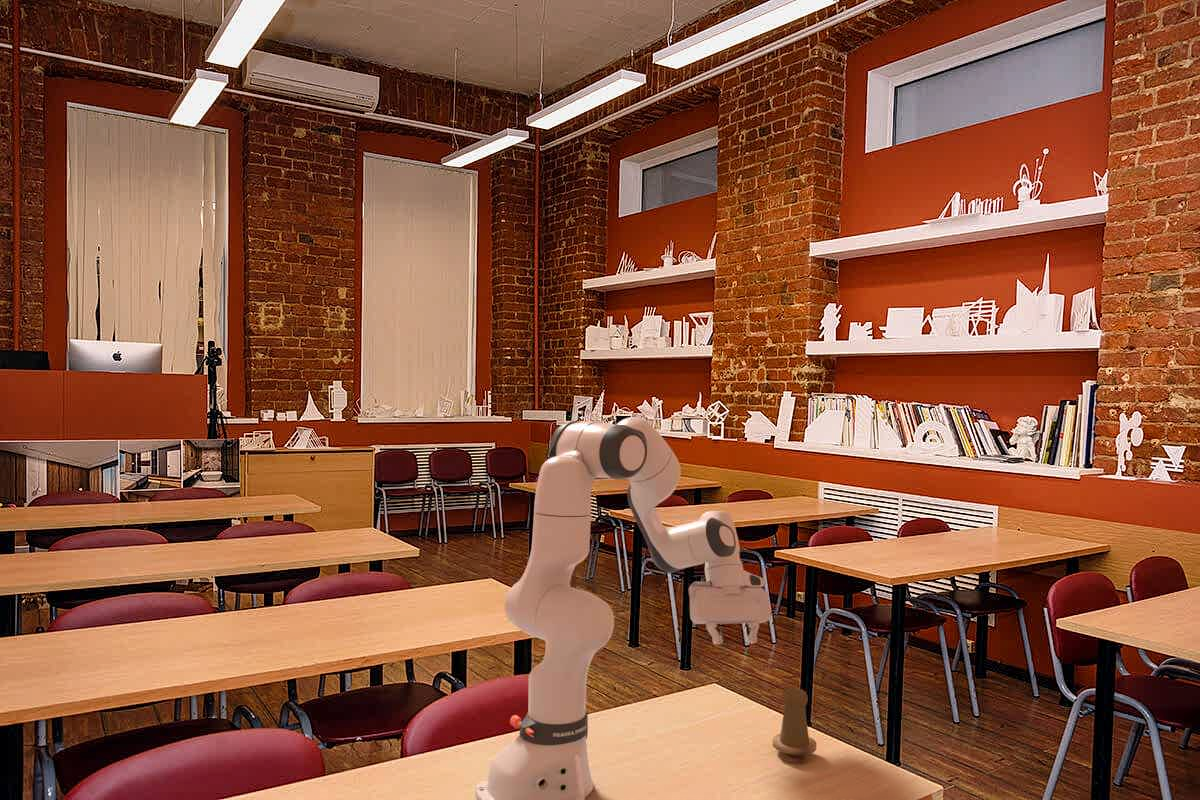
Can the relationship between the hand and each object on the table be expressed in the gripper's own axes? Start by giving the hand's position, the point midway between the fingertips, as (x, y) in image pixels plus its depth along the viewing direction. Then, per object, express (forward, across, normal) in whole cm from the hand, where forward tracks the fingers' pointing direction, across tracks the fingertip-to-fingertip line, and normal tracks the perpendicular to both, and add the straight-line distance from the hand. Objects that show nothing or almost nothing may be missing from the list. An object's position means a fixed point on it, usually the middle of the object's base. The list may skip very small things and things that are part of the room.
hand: (735, 643), depth 192 cm
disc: (+24, +7, -5) cm, 26 cm away
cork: (+22, +6, -6) cm, 23 cm away
